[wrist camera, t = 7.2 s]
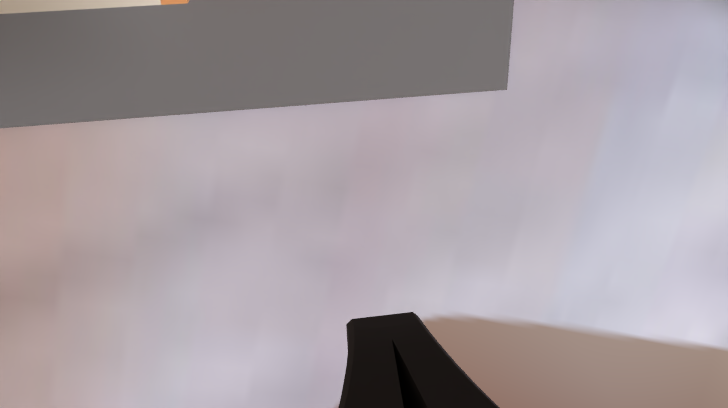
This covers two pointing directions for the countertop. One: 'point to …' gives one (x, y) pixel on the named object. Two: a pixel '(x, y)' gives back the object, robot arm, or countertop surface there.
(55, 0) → the tall block
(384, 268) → the countertop surface
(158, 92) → the mat
